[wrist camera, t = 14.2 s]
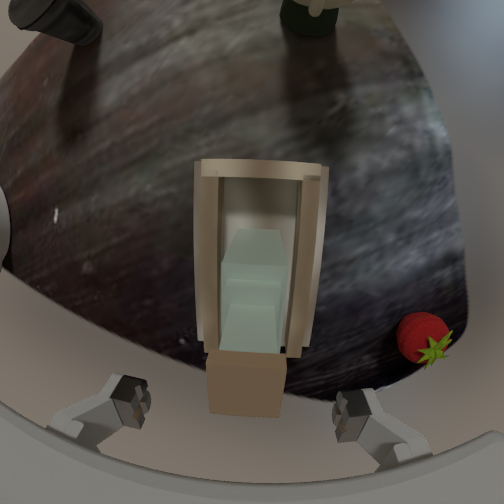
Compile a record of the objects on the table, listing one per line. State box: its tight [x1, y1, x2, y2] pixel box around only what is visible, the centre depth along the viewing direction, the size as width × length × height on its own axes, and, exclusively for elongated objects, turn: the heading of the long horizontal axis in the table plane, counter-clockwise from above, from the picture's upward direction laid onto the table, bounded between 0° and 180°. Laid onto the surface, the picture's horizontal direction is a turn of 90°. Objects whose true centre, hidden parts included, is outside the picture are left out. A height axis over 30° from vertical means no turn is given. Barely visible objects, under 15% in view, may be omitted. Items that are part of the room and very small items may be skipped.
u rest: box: [194, 159, 329, 358], centre depth 27 cm, size 13×20×5 cm, turn 178°
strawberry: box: [396, 312, 452, 369], centre depth 26 cm, size 6×8×10 cm
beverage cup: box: [8, 0, 103, 46], centre depth 12 cm, size 7×7×20 cm
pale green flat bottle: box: [206, 228, 289, 418], centre depth 19 cm, size 7×4×18 cm, turn 178°
